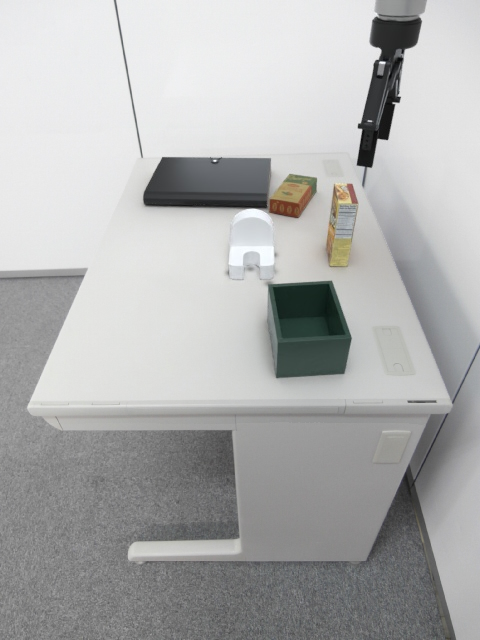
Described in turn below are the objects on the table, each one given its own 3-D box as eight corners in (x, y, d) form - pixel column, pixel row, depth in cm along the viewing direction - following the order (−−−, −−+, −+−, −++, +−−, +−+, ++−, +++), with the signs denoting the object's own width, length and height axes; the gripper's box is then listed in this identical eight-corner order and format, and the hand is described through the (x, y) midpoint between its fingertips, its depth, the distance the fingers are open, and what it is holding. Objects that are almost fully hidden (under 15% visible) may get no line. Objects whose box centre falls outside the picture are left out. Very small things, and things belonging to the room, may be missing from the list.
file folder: (271, 156, 130) (267, 196, 113) (270, 169, 133) (266, 210, 116) (162, 155, 133) (141, 194, 116) (164, 168, 136) (144, 208, 119)
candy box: (325, 244, 103) (332, 182, 92) (343, 244, 102) (353, 182, 92) (329, 267, 96) (337, 203, 86) (348, 267, 96) (359, 203, 86)
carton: (268, 213, 114) (268, 197, 111) (288, 186, 125) (289, 172, 122) (299, 218, 112) (299, 203, 109) (316, 191, 122) (318, 176, 119)
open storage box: (344, 373, 74) (352, 337, 68) (276, 378, 74) (277, 342, 68) (327, 315, 85) (332, 280, 79) (267, 319, 85) (267, 284, 79)
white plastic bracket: (272, 234, 107) (273, 192, 99) (274, 279, 94) (275, 235, 86) (233, 234, 107) (231, 193, 100) (229, 279, 94) (226, 236, 87)
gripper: (389, 2, 78) (369, 126, 92) (352, 30, 61) (334, 175, 76) (434, 4, 75) (405, 131, 90) (408, 33, 59) (378, 182, 73)
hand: (373, 151), depth 83 cm, fingers open, 13 cm apart
